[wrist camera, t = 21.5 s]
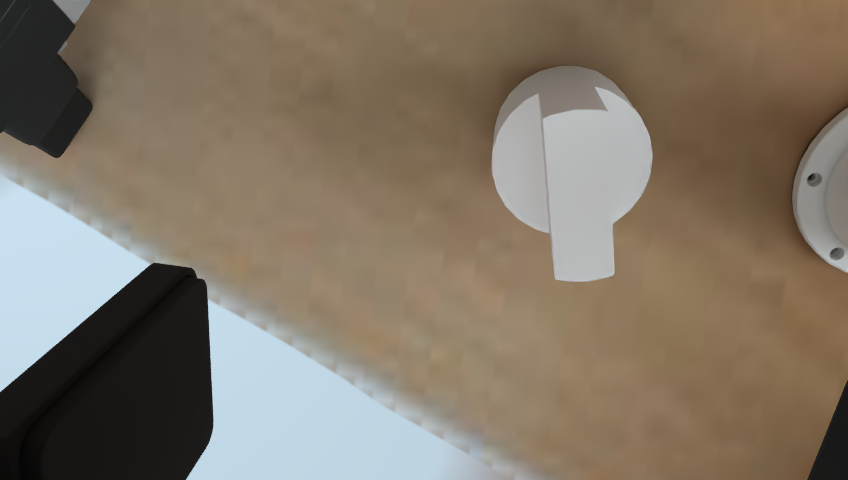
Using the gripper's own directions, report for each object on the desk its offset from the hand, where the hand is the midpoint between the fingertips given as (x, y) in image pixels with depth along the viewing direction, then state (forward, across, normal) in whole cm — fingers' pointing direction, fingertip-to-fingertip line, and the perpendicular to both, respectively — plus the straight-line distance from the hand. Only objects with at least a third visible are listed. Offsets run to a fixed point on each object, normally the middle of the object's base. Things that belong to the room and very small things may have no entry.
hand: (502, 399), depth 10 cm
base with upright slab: (+36, -3, +5) cm, 37 cm away
